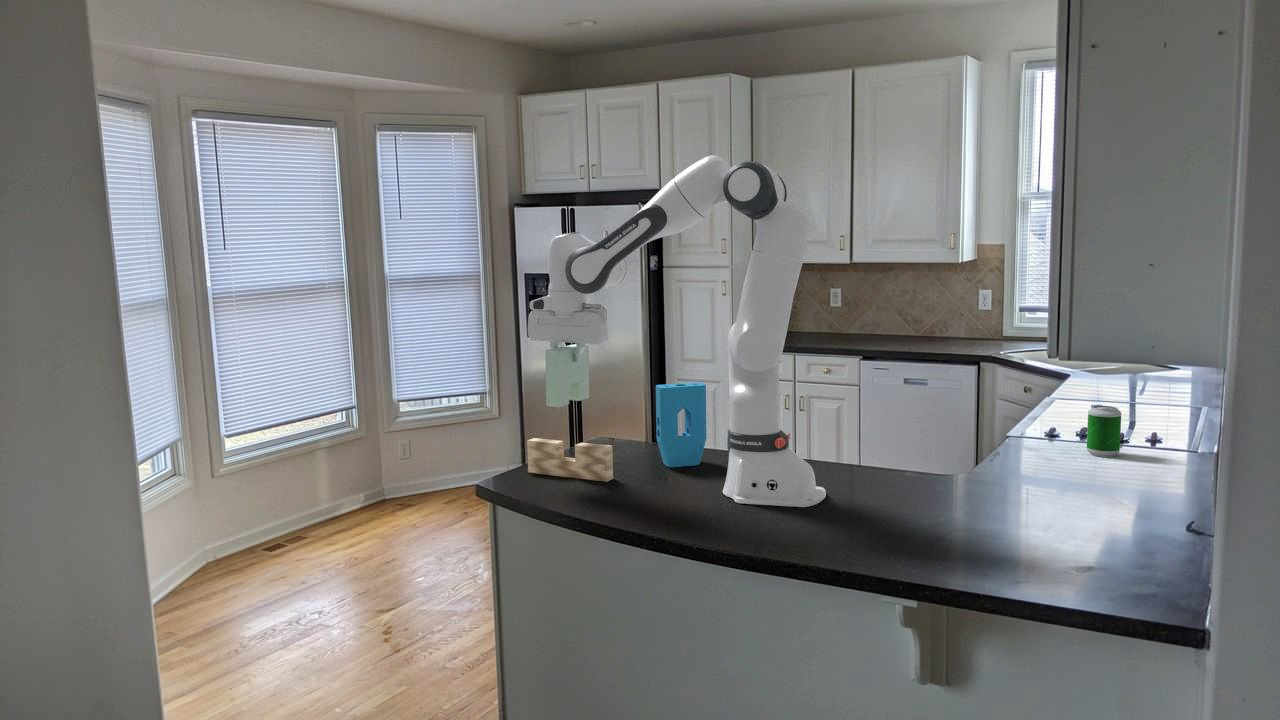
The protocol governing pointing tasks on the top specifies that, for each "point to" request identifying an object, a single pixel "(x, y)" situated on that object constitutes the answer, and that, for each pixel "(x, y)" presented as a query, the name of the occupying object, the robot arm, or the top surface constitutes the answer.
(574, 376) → the sage plate
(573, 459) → the oak board
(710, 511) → the top surface
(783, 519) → the top surface
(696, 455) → the block
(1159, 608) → the top surface
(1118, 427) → the soda can
